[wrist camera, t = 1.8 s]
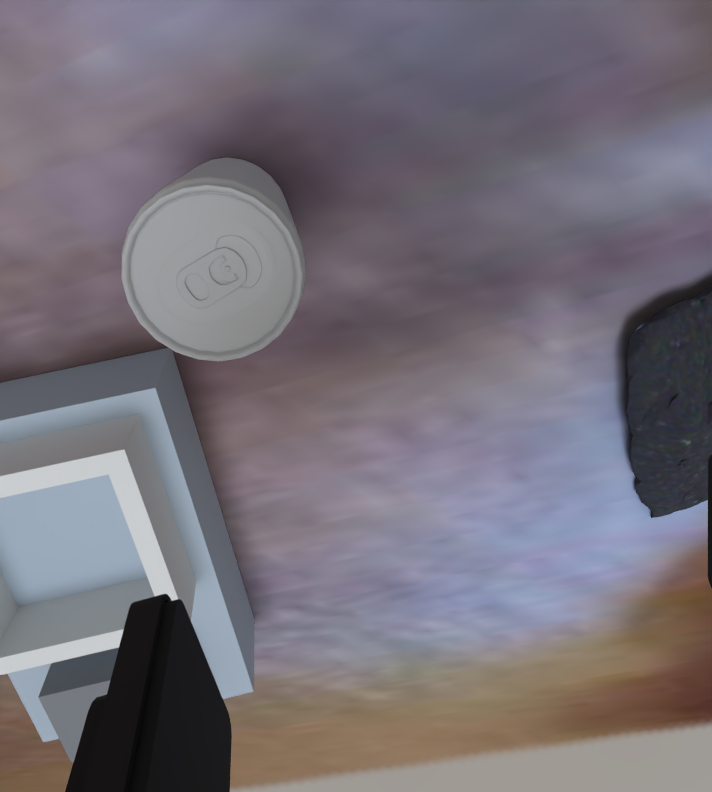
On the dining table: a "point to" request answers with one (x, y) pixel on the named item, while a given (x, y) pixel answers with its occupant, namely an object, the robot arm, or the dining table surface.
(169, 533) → the recessed tray block
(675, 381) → the dark slate chunk
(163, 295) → the beverage can
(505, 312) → the dining table surface
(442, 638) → the dining table surface
